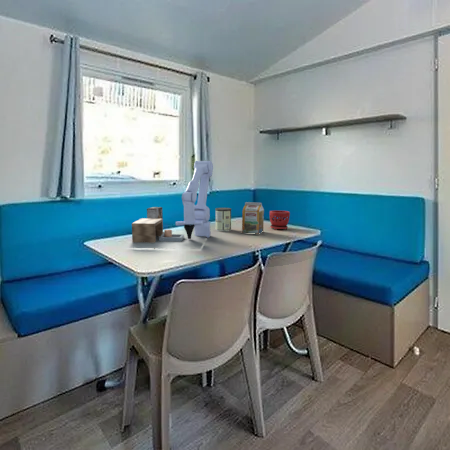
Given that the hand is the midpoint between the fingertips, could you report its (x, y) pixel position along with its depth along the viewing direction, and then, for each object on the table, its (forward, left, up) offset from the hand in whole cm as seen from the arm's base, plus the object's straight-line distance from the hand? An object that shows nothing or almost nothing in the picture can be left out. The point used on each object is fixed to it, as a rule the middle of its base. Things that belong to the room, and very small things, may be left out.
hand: (189, 238), depth 186 cm
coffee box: (+24, -19, -2) cm, 30 cm away
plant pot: (-53, -45, -2) cm, 70 cm away
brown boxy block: (+23, 0, -2) cm, 23 cm away
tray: (+10, 0, -2) cm, 10 cm away
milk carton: (-35, -29, -2) cm, 46 cm away
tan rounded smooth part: (+12, 0, -1) cm, 12 cm away
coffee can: (-16, -37, -2) cm, 40 cm away
